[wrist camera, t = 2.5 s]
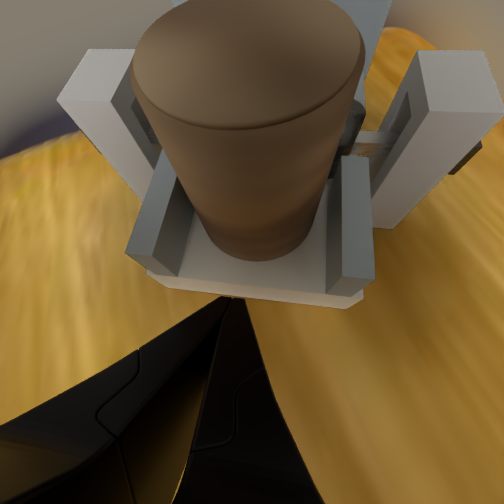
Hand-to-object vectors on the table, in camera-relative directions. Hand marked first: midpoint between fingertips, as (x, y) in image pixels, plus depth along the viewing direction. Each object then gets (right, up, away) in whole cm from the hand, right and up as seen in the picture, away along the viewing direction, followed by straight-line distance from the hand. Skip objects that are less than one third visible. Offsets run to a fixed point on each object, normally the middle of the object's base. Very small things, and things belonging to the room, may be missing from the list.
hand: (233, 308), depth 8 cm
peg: (+1, +4, +6) cm, 7 cm away
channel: (+2, +5, +9) cm, 11 cm away
